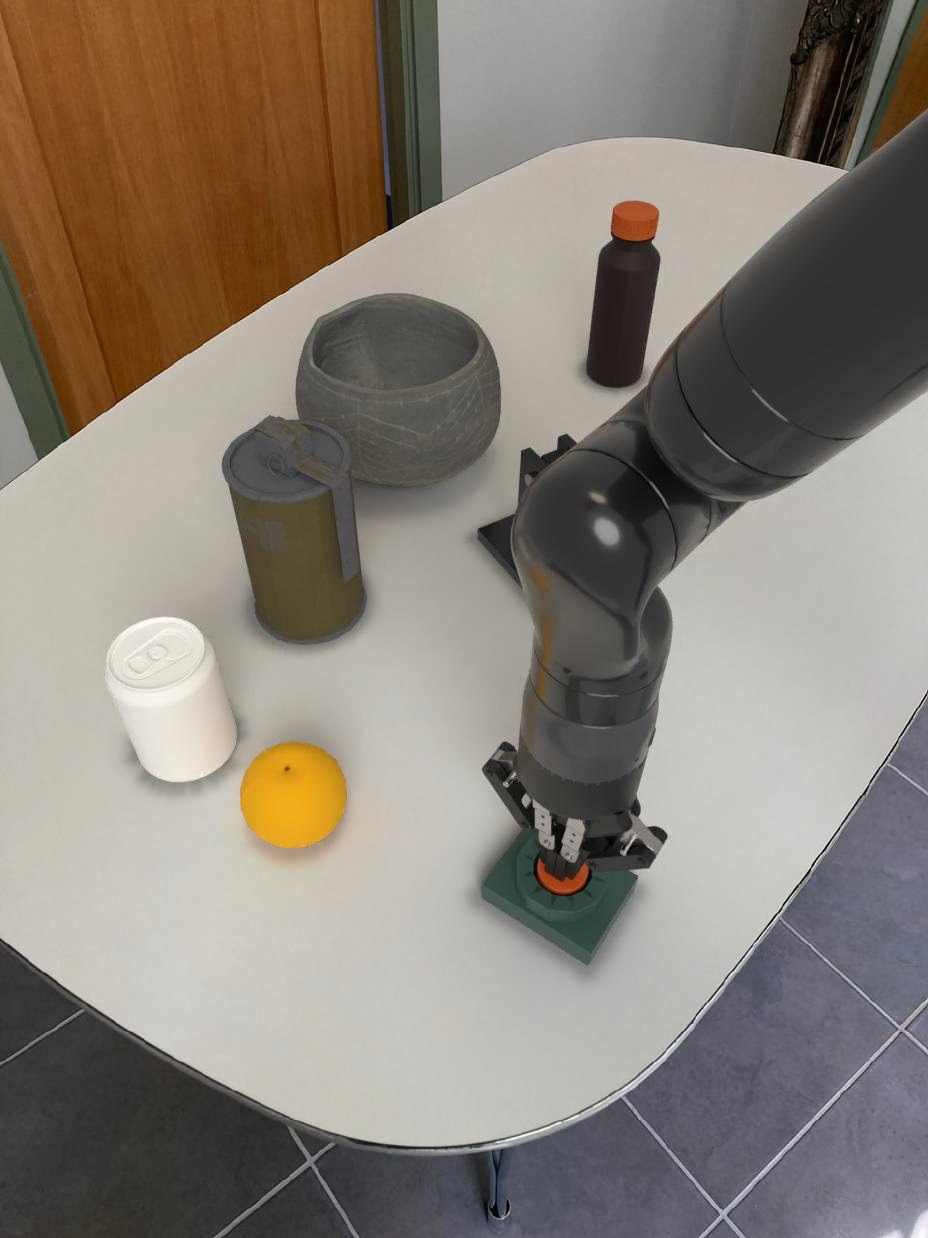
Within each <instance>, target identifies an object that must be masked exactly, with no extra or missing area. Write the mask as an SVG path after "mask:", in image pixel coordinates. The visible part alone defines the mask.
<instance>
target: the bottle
mask: <svg viewBox="0 0 928 1238" xmlns="http://www.w3.org/2000/svg"><path fill="white" fill-rule="evenodd" d="M659 217H660V210H659V209H658V207H657V206H656V205H654V204H652V203H650V202H648V201H647V202H646V201H644V200H624V201H621V202H618V203H616V204H615V205H614V206H613V209H612V213H611V222H610V236H611V237H612V239H611V240H610V241H609V242H607V243H606V244H605V245H603V246H602V247H601V249H600V250H599V253H598V256H597V257H598V259H597V267H596V275H595V285H594V292H593V302H592V311H591V320H590V329H589V335H588V346H587V355H586V362H585V363H586V364H585V371H586V374H587V376H588V377H589V379H590V380H591V381H593V382H595V383H596V384H598V385H601V386H604V387H607V388H626V387H630V386H631V385H632V386H633V385H634V384H636V383H637V382H638V381H639V380H640V379H641V377H642V374H643V371H644V364H645V358H646V351H647V345H648V339H649V333H650V328H651V322H652V316H653V310H654V304H655V298H656V291H657V286H658V284H657V283H658V279H659V274H660V273H659V272H660V268H661V261H662V257H661V254H660V252H659V250H658V249H657V248H656V246H655V245H654V244H653V241H654V240H655V238H656V234H657V232H658V225H659V219H660V218H659Z"/></svg>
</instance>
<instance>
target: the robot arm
mask: <svg viewBox="0 0 928 1238" xmlns="http://www.w3.org/2000/svg"><path fill="white" fill-rule="evenodd" d="M649 376H650V377H649V379H648V382H647V384H646V385H645V386H644V387H643V388H642V389H641V390H640V391H639V392H638V393H637V394H635V396H633V397H632V398H631V399H630V400H629V401H628V402H627V403H625V404H624V405H623V406H622V407H621V408H620V409H618V410H617V411H616V412H615V413H614V414H613V415H611V416H610V417H609V418H608V419H607V420H605V421H604V422H603V423H601V424H600V425H599V426H597V427H596V428H595V429H594V430H593V431H592V432H591V433H589V434H587V435H586V436H585V437H583V439H581V440H580V441H579V442H577V444H576V445H575V446H574V447H572V448H571V449H570V450H568V451H567V452H566V453H565V454H563V455H562V456H561V457H559V458H558V459H557V460H555V461H554V462H553V463H551V464H550V465H549V466H548V467H546V468H545V469H544V470H542V471H541V472H540V473H539V474H538V475H537V476H536V477H535V478H534V479H533V480H532V482H531V483H530V484H529V485H528V487H527V488H526V490H525V491H524V493H523V495H522V497H521V499H520V501H519V504H518V503H517V507H516V509H515V512H514V514H515V516H514V519H513V524H512V529H511V550H512V554H513V559H514V562H515V565H516V568H517V571H518V575H519V578H520V581H521V584H522V587H523V588H522V587H521V588H522V590H523V594H524V597H525V601H526V606H527V608H528V611H529V614H530V617H531V620H532V623H533V634H532V644H531V655H530V664H529V665H530V666H529V670H528V673H527V676H526V679H525V683H524V688H523V692H522V693H523V694H522V699H521V700H522V701H521V710H520V711H521V712H520V723H519V733H518V734H519V735H518V747H517V748H516V747H515V746H514V745H513V744H512V743H510V742H508V741H502V742H501V743H500V745H499V746H498V747H497V748H496V749H495V751H494V752H493V753H492V754H491V756H490V757H489V758H488V760H487V761H486V762H485V764H483V766H482V767H481V772H482V774H483V775H484V777H485V778H486V779H487V781H488V782H489V784H490V786H491V787H492V788H493V790H494V791H495V793H496V794H497V796H498V797H499V798H500V800H501V801H502V803H503V804H504V806H505V808H506V809H507V810H508V812H509V813H510V815H511V816H512V818H513V819H514V821H515V822H516V824H517V825H518V826H519V828H521V830H522V829H524V830H526V831H532V829H534V830H535V831H536V832H537V833H538V834H539V842H540V843H541V849H540V860H541V862H542V863H544V864H545V870H544V872H546V873H548V874H549V875H551V876H553V877H554V878H556V879H558V880H559V881H561V882H563V881H564V880H565V878H566V877H567V878H569V879H570V880H572V879H574V878H575V877H576V875H577V874H578V872H579V871H580V869H581V868H582V866H583V864H584V863H585V864H586V866H587V867H588V868H589V869H590V870H592V871H594V872H610V871H623V870H629V871H634V870H648V869H650V868H651V866H652V864H653V863H654V861H655V860H656V859H657V857H658V855H659V854H660V852H661V851H662V848H663V847H664V845H665V843H666V842H667V840H668V838H669V835H668V833H667V832H666V830H664V828H661V827H660V826H657V825H650V826H647V825H646V824H645V823H644V822H643V821H642V820H641V819H640V816H641V811H642V807H641V806H642V805H641V802H640V800H639V798H638V791H639V788H640V784H641V781H642V777H643V772H644V770H645V766H646V762H647V759H648V754H649V750H650V747H651V746H652V745H653V742H654V739H655V734H656V733H657V732H656V731H657V728H656V726H657V721H658V715H659V706H660V690H661V687H662V683H663V678H664V675H665V671H666V668H667V663H668V660H669V656H670V652H671V647H672V639H673V631H674V621H673V613H672V609H671V605H670V603H669V600H668V598H667V596H666V595H665V593H664V592H663V590H662V588H661V587H660V586H659V584H661V583H662V582H663V581H664V580H665V579H666V578H667V577H668V576H669V575H670V574H671V572H673V571H674V570H675V569H676V568H677V567H678V566H679V565H680V564H681V563H682V562H683V561H684V560H685V559H686V558H687V557H688V556H690V554H691V553H692V552H694V551H695V550H696V549H697V548H698V547H699V546H700V545H701V544H702V543H703V542H704V541H705V540H706V539H707V538H708V537H709V536H710V535H711V534H712V533H714V531H716V530H717V529H718V528H719V527H720V526H721V525H722V524H724V523H725V522H726V521H727V520H729V518H731V517H732V516H733V515H734V514H735V513H737V512H738V511H739V510H740V509H741V508H743V507H744V506H745V505H747V504H748V503H749V502H752V501H753V502H755V501H757V500H762V499H764V498H768V497H770V496H772V495H775V494H777V493H779V492H781V491H783V490H785V489H787V488H789V487H790V486H792V485H795V484H796V483H797V482H799V481H801V480H803V478H805V477H807V476H808V475H810V474H812V473H813V472H814V471H816V470H817V469H819V468H821V467H823V465H825V464H827V462H829V461H831V460H832V459H833V458H835V457H836V456H837V455H840V454H841V453H843V451H845V450H846V449H848V448H849V447H850V446H852V445H854V444H855V443H857V442H858V441H859V440H861V439H862V438H863V437H865V436H866V435H868V434H869V433H871V432H872V431H873V430H875V429H876V428H878V427H879V426H880V425H883V423H885V422H886V421H887V420H889V419H890V418H892V417H894V415H896V414H897V413H899V412H901V410H903V409H905V408H906V407H907V406H909V404H911V403H913V402H914V401H915V400H917V399H918V398H920V397H921V396H923V395H924V394H926V393H927V392H928V107H927V108H926V109H925V110H924V111H923V112H921V113H920V114H919V115H917V116H916V118H914V119H913V120H912V121H911V122H910V123H909V124H907V125H906V126H905V127H904V128H903V129H902V130H901V131H899V132H898V133H896V135H894V136H893V137H892V138H890V139H889V140H888V141H887V142H885V143H884V144H883V145H881V146H880V147H879V148H878V149H877V150H875V151H874V152H872V153H871V154H869V156H868V157H866V158H864V159H863V160H862V161H861V162H859V163H858V164H857V165H855V166H854V167H853V168H851V169H850V170H849V171H847V172H846V173H845V174H843V175H842V176H840V177H839V178H838V179H837V180H835V181H834V182H833V183H832V184H830V185H829V186H827V188H825V189H824V190H823V191H822V192H821V193H819V194H817V196H815V197H814V198H813V199H812V200H811V201H810V202H808V203H807V204H805V206H804V207H803V208H801V210H799V211H798V212H797V213H796V214H794V215H793V216H792V217H791V218H790V219H789V220H788V221H787V222H786V223H785V224H784V225H782V226H781V228H780V229H778V230H776V232H775V233H774V234H773V235H772V236H771V237H770V238H769V239H767V241H766V242H765V243H763V245H762V246H761V247H760V248H759V249H758V250H757V251H756V252H755V253H754V254H753V255H751V257H750V258H749V259H748V260H747V261H746V262H745V263H744V264H743V265H742V266H741V267H740V268H739V269H738V270H737V271H736V272H735V273H734V275H733V276H731V278H730V279H729V280H728V281H727V282H726V283H725V284H724V285H723V286H722V287H721V289H720V290H718V292H717V293H716V294H715V295H713V297H712V298H711V299H710V300H709V302H707V303H706V304H705V305H704V306H703V307H702V308H701V310H700V311H699V312H698V313H697V314H696V315H695V316H694V317H693V319H691V320H690V321H689V323H688V324H686V326H685V327H684V328H683V329H682V330H681V331H680V332H679V334H678V335H677V336H676V337H675V338H674V339H673V340H672V342H671V343H670V344H669V345H668V347H667V348H666V349H665V351H664V352H663V354H662V356H661V357H660V358H659V360H658V361H657V363H656V364H655V365H654V368H653V370H652V372H651V374H650V375H649ZM525 796H527V797H528V798H529V800H530V801H529V803H528V804H527V805H526V806H525V805H524V803H523V799H524V797H525Z"/></svg>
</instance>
